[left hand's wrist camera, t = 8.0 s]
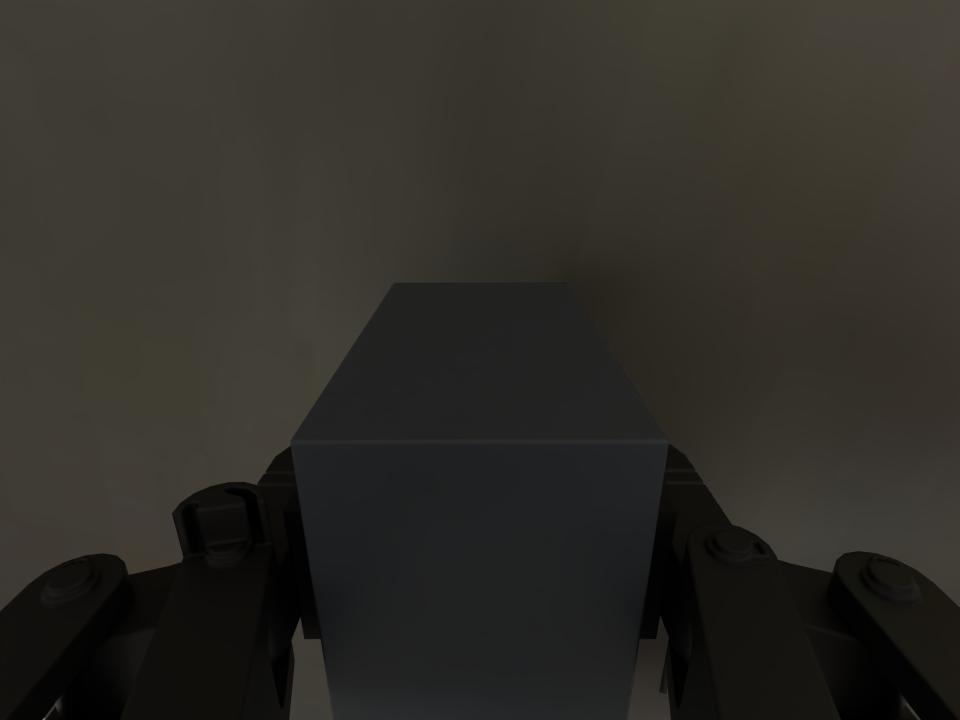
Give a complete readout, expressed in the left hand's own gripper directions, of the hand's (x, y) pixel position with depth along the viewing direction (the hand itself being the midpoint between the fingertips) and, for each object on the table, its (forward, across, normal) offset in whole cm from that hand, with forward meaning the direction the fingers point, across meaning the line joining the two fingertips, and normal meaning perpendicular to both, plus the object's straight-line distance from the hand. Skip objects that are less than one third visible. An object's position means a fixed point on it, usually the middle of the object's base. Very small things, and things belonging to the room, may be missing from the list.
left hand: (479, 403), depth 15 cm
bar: (+1, 0, -8) cm, 9 cm away
